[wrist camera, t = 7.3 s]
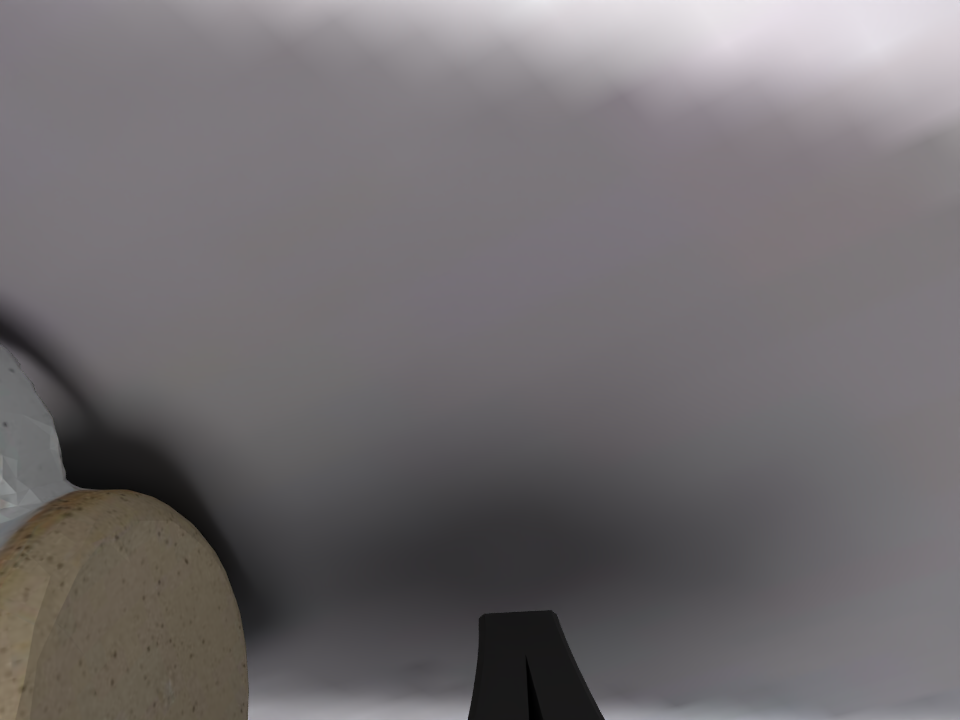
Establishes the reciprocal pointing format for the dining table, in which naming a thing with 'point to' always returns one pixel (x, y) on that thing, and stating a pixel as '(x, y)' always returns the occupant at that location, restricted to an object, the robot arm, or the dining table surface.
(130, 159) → the dining table surface
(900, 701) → the dining table surface
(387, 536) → the dining table surface
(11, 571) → the ceramic mug
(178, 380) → the dining table surface
